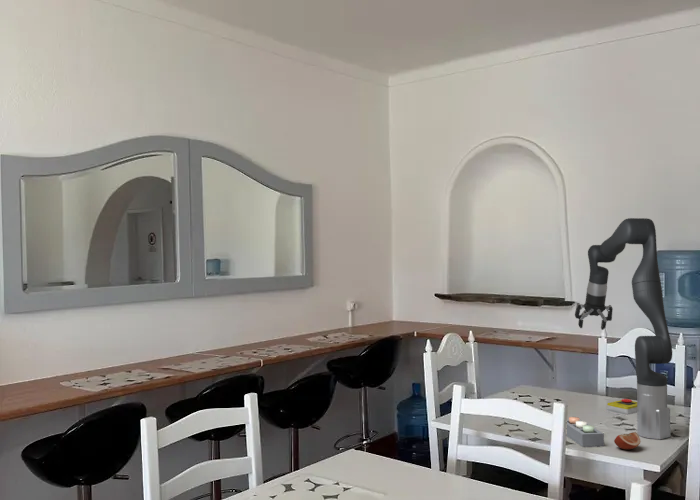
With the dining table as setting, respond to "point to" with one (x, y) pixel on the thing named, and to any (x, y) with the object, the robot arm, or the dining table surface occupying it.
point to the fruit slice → (627, 440)
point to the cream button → (580, 424)
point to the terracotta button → (573, 420)
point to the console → (585, 436)
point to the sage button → (588, 429)
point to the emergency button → (622, 407)
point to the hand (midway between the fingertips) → (591, 328)
